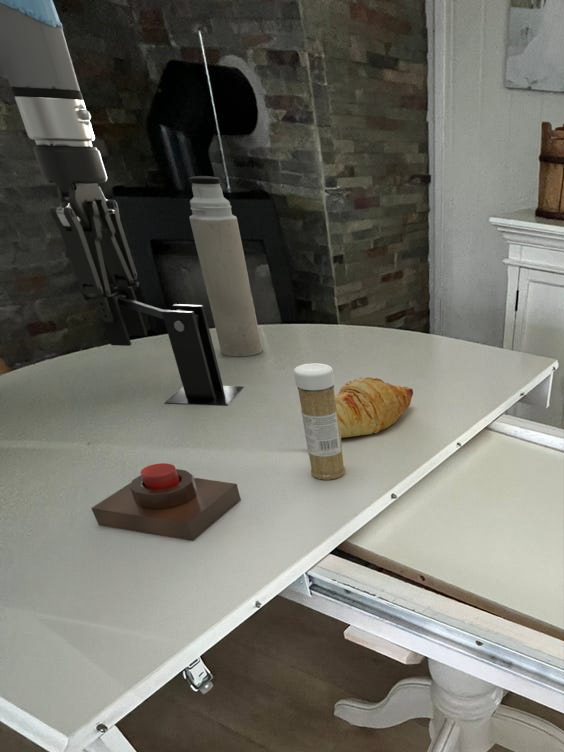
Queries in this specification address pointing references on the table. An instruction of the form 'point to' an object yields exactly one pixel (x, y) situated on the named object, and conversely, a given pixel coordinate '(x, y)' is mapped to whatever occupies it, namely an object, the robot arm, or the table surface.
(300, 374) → the spice jar
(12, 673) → the table surface
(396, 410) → the croissant
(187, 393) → the bracket
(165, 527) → the button block
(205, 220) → the thermos bottle
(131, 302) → the lever
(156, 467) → the button
